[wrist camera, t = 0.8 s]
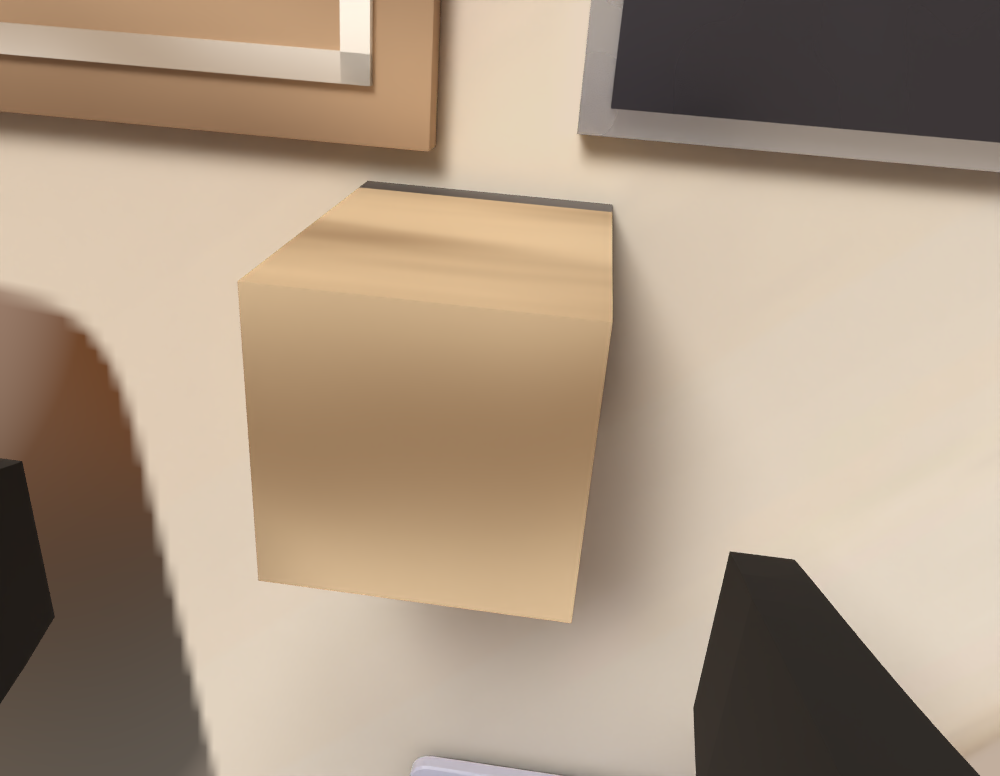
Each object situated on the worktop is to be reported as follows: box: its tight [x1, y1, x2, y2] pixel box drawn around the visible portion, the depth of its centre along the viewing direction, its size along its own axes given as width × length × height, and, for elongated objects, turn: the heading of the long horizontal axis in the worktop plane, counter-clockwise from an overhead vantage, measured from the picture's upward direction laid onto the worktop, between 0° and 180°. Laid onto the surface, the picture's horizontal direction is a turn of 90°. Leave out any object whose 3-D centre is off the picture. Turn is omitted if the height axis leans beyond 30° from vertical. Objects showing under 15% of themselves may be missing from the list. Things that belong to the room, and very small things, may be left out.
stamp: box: [238, 181, 613, 623], centre depth 14 cm, size 4×4×6 cm
